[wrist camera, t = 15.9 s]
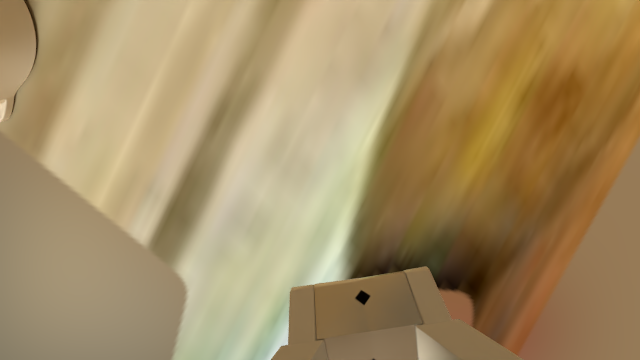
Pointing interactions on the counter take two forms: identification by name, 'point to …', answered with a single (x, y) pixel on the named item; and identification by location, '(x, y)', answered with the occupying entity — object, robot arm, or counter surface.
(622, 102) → the counter surface
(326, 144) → the counter surface
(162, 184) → the counter surface
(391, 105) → the counter surface
